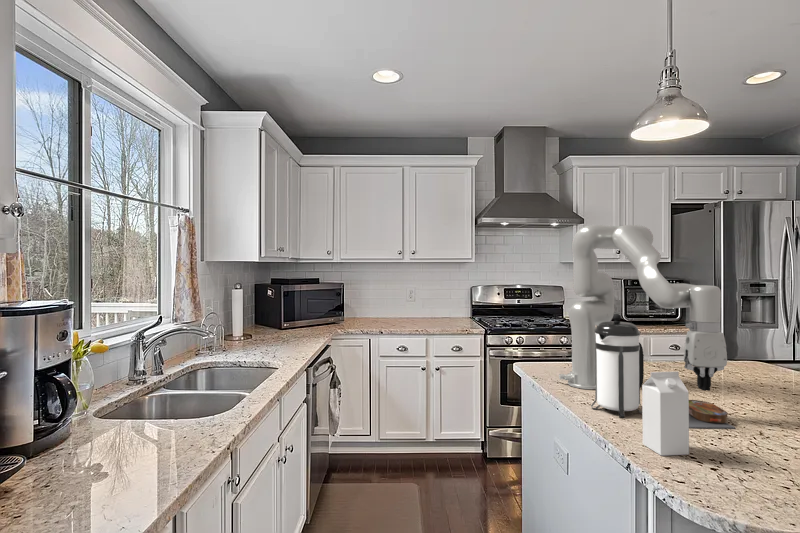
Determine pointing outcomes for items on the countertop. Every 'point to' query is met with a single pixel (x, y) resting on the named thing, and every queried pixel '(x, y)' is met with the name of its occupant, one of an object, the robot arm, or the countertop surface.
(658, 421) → the milk carton
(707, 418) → the tin
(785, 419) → the countertop surface
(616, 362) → the coffee press
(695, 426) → the rubber mat
